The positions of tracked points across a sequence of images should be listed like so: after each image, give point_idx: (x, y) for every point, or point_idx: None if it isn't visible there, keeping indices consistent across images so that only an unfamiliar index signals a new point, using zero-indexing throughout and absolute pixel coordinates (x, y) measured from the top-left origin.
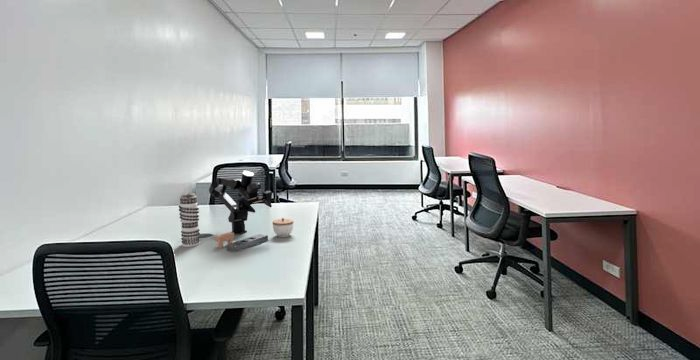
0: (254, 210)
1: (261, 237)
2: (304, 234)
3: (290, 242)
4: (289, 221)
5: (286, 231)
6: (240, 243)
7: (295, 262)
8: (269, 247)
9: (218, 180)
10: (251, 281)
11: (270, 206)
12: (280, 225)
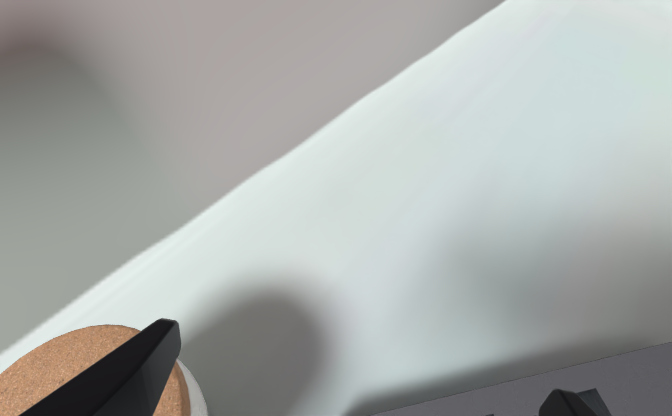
0: (575, 399)
1: (404, 410)
2: None
3: (273, 259)
4: (66, 355)
5: None
6: (636, 384)
7: (453, 68)
8: (426, 267)
9: None
10: (651, 37)
11: (172, 351)
12: (182, 374)
